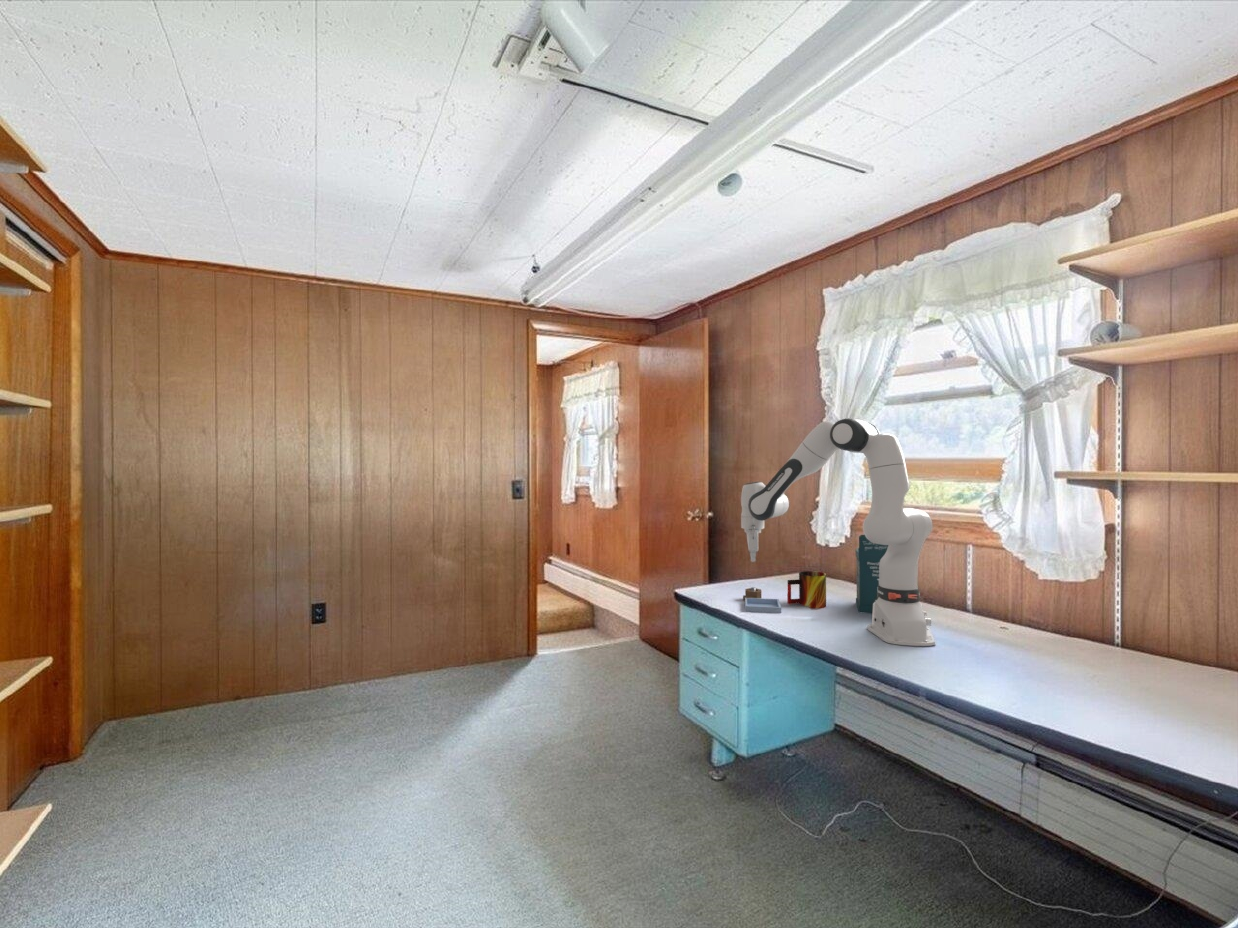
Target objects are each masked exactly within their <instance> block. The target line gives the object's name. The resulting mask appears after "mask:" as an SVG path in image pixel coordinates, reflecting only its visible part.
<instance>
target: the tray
mask: <svg viewBox="0 0 1238 928" xmlns="http://www.w3.org/2000/svg"><path fill="white" fill-rule="evenodd" d="M744 606H745V607H744V608H745V613H746V612H747V613H748V612H749V613H770V614H772V613H773V614H782V605H781V601H780V599H779V598H764V597H761V598H745V601H744Z"/></svg>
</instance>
